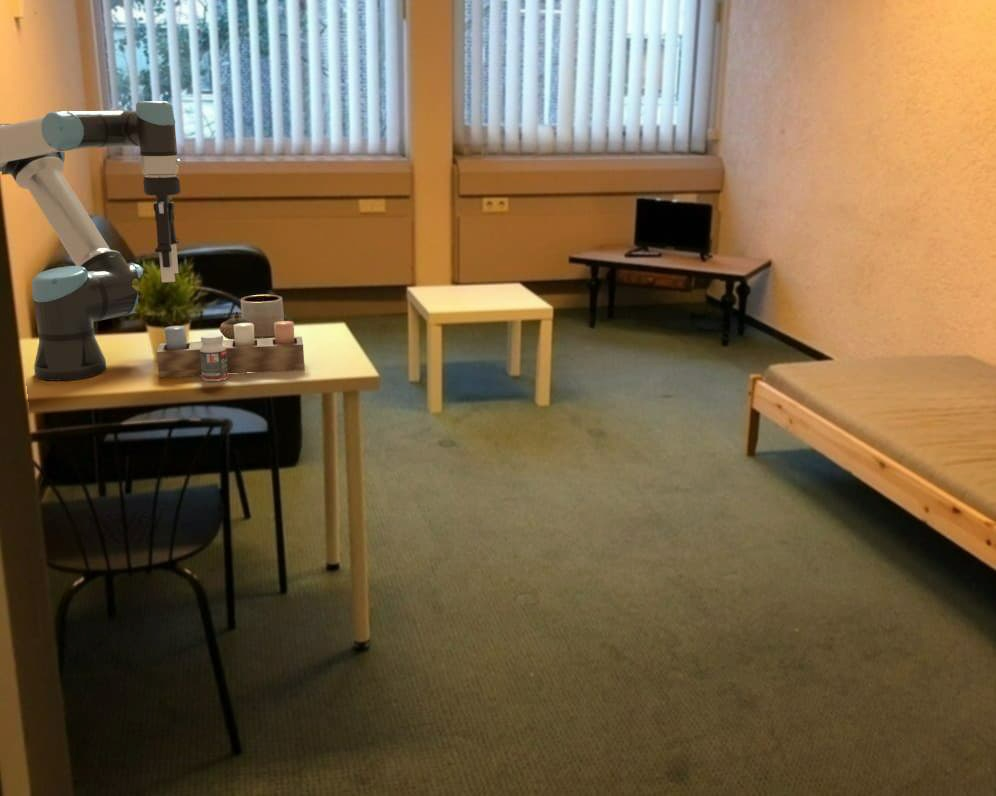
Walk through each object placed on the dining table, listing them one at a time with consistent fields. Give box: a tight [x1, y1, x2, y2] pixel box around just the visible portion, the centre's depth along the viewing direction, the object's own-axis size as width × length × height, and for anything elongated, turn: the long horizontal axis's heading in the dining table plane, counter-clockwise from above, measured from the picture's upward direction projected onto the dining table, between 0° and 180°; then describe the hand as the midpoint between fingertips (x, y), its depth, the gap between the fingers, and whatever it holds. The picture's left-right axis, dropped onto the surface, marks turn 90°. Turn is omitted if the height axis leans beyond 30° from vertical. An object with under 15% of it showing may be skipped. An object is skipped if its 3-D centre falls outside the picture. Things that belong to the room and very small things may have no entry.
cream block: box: [234, 323, 256, 347], centre depth 231 cm, size 4×4×6 cm
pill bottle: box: [200, 332, 229, 382], centre depth 223 cm, size 6×6×10 cm
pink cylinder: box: [274, 320, 295, 345], centre depth 233 cm, size 4×4×6 cm
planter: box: [240, 294, 285, 339], centre depth 266 cm, size 11×11×10 cm
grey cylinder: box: [164, 325, 187, 350], centre depth 228 cm, size 4×4×6 cm
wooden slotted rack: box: [156, 336, 305, 378], centre depth 232 cm, size 32×8×6 cm, turn 103°
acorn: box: [219, 311, 255, 340], centre depth 248 cm, size 8×8×10 cm
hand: (170, 277), depth 224 cm, fingers open, 10 cm apart
